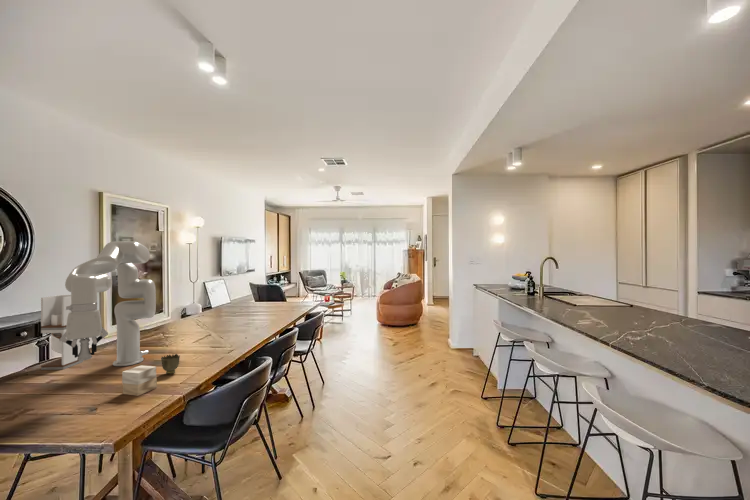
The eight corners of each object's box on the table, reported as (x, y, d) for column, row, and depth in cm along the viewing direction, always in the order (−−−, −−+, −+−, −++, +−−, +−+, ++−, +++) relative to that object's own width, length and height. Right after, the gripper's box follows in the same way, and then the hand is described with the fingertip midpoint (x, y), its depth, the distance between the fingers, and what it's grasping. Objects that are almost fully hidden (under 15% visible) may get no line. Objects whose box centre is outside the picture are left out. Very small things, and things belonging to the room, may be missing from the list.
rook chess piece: (83, 357, 131) (83, 336, 131) (95, 356, 131) (95, 336, 131) (73, 361, 126) (73, 339, 126) (86, 360, 127) (86, 339, 127)
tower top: (140, 376, 141) (140, 365, 141) (156, 377, 139) (156, 366, 139) (122, 383, 133) (122, 371, 133) (138, 384, 131) (138, 373, 131)
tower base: (142, 386, 141) (141, 375, 141) (156, 388, 139) (156, 377, 139) (122, 394, 133) (122, 382, 133) (138, 396, 131) (138, 384, 131)
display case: (62, 362, 174) (62, 294, 174) (83, 361, 174) (83, 294, 174) (40, 369, 162) (41, 297, 163) (63, 369, 163) (63, 297, 163)
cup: (182, 373, 156) (182, 355, 156) (164, 377, 150) (163, 359, 150) (176, 369, 161) (176, 352, 161) (159, 373, 155) (159, 356, 156)
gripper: (52, 311, 120) (53, 362, 121) (112, 306, 131) (112, 353, 131) (55, 308, 126) (56, 357, 127) (112, 304, 137) (112, 349, 137)
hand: (84, 354), depth 129 cm, fingers closed on rook chess piece, 4 cm apart
